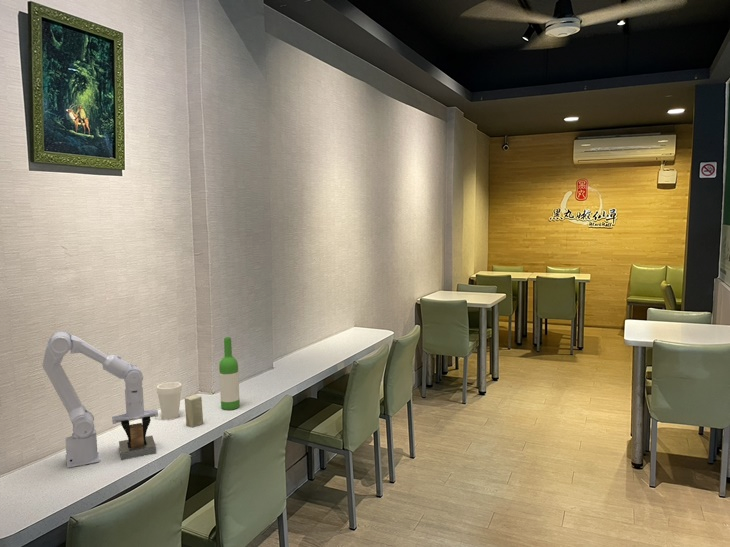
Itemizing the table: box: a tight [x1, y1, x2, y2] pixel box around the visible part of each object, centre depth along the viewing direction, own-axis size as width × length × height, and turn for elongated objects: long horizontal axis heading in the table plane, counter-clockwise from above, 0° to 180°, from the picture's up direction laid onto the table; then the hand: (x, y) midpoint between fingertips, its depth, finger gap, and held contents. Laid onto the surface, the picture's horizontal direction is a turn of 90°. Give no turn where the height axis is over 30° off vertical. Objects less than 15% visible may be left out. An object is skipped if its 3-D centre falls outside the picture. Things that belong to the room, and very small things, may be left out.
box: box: [184, 394, 204, 428], centre depth 218 cm, size 5×4×11 cm
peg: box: [129, 422, 144, 448], centre depth 194 cm, size 4×4×8 cm
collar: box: [118, 435, 157, 461], centre depth 194 cm, size 11×11×2 cm
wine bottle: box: [218, 337, 241, 411], centre depth 236 cm, size 8×8×30 cm
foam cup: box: [156, 381, 182, 420], centre depth 227 cm, size 10×9×13 cm
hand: (136, 439), depth 194 cm, fingers closed on peg, 4 cm apart
